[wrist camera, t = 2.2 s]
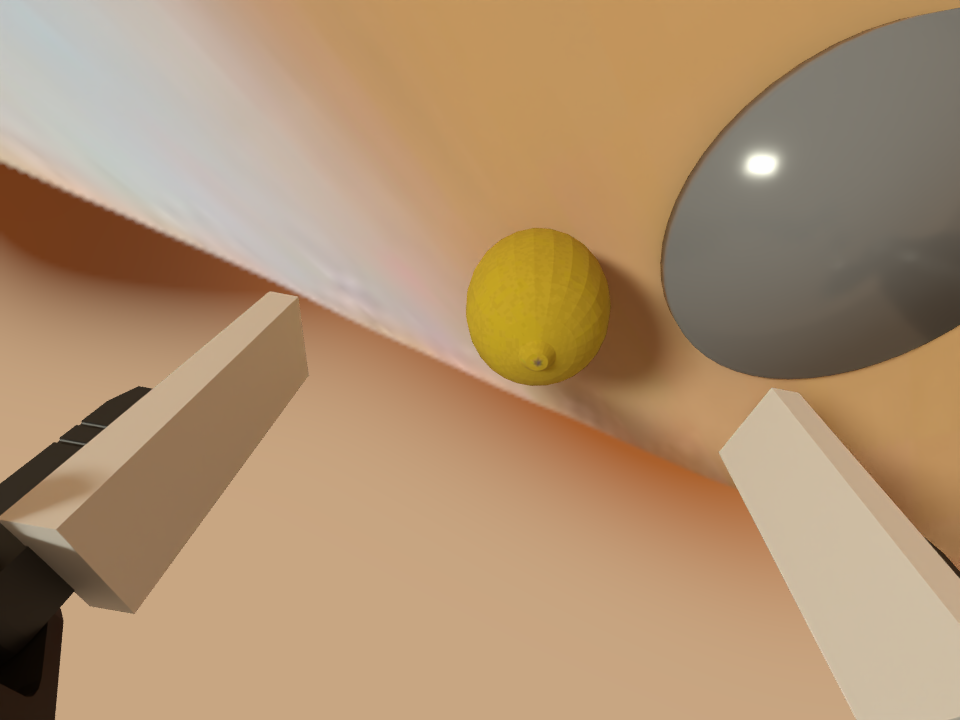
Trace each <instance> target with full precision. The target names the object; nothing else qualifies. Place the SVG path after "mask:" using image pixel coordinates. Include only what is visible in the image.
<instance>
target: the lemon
mask: <svg viewBox="0 0 960 720" xmlns="http://www.w3.org/2000/svg"><path fill="white" fill-rule="evenodd" d="M610 307H611V305H610V296H609V289H608V283H607V280H606V277H605V275H604V273H603V271H602V269H601V266H600V264H599V262H598V260H597V259H596V258H595V257H594V255H593V254H592V253H591V252H590V251H589V250H588V249H587V247H586V246H585V245H584V244H583V243H581V242H579V241H578V240H576V239H575V238H573V237H571V236H570V235H568V234H566V233H562V232H559V231H556V230H553V229H543V228H532V229H527V230H523V231H518V232H516V233H514V234H512V235H510V236H507V237H505V238H503V239H501V240H500V241H499V242H498V243H497V244H495V245H494V246H493V247H492V248H491V249H489V250H488V251H487V252H486V254H485V255H484V257H483V258H482V259H481V261H480V262H479V264H478V265H477V267H476V268H475V270H474V273H473V276H472V279H471V282H470V285H469V288H468V292H467V305H466V318H467V323H468V327H469V332H470V336H471V339H472V342H473V344H474V346H475V348H476V349H477V351H478V353H479V355H480V357H481V358H482V359H483V360H484V361H485V363H486V364H487V365H488V366H489V367H490V368H491V369H492V370H493V371H495V372H496V373H498V374H499V375H501V376H502V377H504V378H506V379H508V380H511V381H513V382H516V383H520V384H525V385H531V386H538V385H549V384H554V383H559V382H561V381H564V380H566V379H568V378H570V377H573V376H574V375H575V374H577V373H578V372H579V371H581V370H582V369H584V368H585V367H586V366H587V365H588V364H589V363H590V361H591V360H592V359H593V358H594V357H595V355H596V354H597V352H598V351H599V349H600V347H601V345H602V342H603V340H604V338H605V336H606V333H607V328H608V322H609V316H610Z"/></svg>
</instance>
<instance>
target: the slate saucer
mask: <svg viewBox="0 0 960 720" xmlns="http://www.w3.org/2000/svg"><path fill="white" fill-rule="evenodd" d="M660 265H661V282H662V287H663V292H664V297H665V300H666V302H667V305H668V307H669V310H670V312H671V314H672V316H673V317H674V319H675V321H676V322H677V324H678V326H679V327H680V329H681V331H682V332H683V334H684V335H685V337H686V338H687V339H688V340H689V341H690V342H691V343H692V345H693V346H694V347H695V348H696V349H698V350H699V351H700V352H701V353H703V354H704V355H705V356H706V357H708V358H710V359H711V360H713V361H715V362H716V363H718V364H720V365H722V366H725V367H727V368H730V369H732V370H734V371H737V372H741V373H745V374H749V375H753V376H759V377H766V378H778V379H801V378H815V377H822V376H829V375H835V374H840V373H844V372H849V371H854V370H858V369H861V368H864V367H868V366H871V365H874V364H878V363H881V362H883V361H886V360H889V359H891V358H894V357H897V356H899V355H902V354H904V353H906V352H909V351H911V350H913V349H915V348H917V347H920V346H922V345H924V344H926V343H928V342H930V341H932V340H934V339H936V338H937V337H939V336H941V335H943V334H945V333H947V332H948V331H950V330H952V329H954V328H955V327H957V326H958V325H960V8H956V9H951V10H945V11H939V12H934V13H929V14H923V15H918V16H913V17H908V18H903V19H899V20H896V21H893V22H889V23H886V24H883V25H880V26H877V27H874V28H871V29H868V30H865V31H863V32H861V33H858V34H856V35H854V36H852V37H849V38H847V39H845V40H843V41H841V42H838V43H836V44H834V45H832V46H830V47H828V48H827V49H825V50H823V51H821V52H820V53H818V54H816V55H814V56H813V57H811V58H809V59H807V60H806V61H804V62H802V63H800V64H799V65H798V66H796V67H795V68H793V69H792V70H791V71H789V72H788V73H786V74H785V75H784V76H782V77H781V78H779V79H778V80H776V81H775V82H774V83H772V84H771V85H770V86H769V87H767V88H766V89H765V90H764V91H763V92H762V93H760V94H759V95H758V96H757V97H756V98H755V99H753V100H752V101H751V102H750V103H749V104H748V105H746V106H745V107H744V108H743V109H742V110H741V111H740V112H739V113H738V114H737V115H736V116H735V118H734V119H733V120H732V121H731V122H730V123H729V124H728V125H727V126H726V127H725V128H724V129H723V130H722V131H721V132H720V134H719V135H718V136H717V137H716V139H715V140H714V141H713V142H712V144H711V145H710V146H709V147H708V148H707V150H706V151H705V152H704V153H703V155H702V156H701V158H700V159H699V161H698V163H697V164H696V166H695V167H694V169H693V170H692V172H691V173H690V175H689V176H688V178H687V180H686V182H685V184H684V186H683V188H682V190H681V192H680V194H679V195H678V197H677V199H676V202H675V204H674V207H673V210H672V212H671V215H670V217H669V220H668V223H667V227H666V231H665V235H664V239H663V243H662V253H661V262H660Z"/></svg>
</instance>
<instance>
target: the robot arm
mask: <svg viewBox="0 0 960 720" xmlns="http://www.w3.org/2000/svg"><path fill="white" fill-rule="evenodd" d="M307 377H308V367H307V360H306V353H305V345H304V337H303V330H302V322H301V315H300V307H299V300H298V297H297V296H292V295H286V294H281V293H276V292H269V293H267V294H266V295H265V296H264V297H262V298H261V299H260V300H259V301H258V302H256V303H255V304H254V305H253V306H252V307H250V308H249V309H248V310H247V311H246V312H244V313H243V314H242V315H241V316H240V317H238V318H237V319H236V320H235V321H234V322H232V323H231V324H230V325H229V326H228V327H226V328H225V329H224V330H223V331H222V332H220V333H219V334H218V335H217V336H216V337H214V338H213V339H212V340H211V341H210V342H208V343H207V344H206V345H205V346H204V347H202V348H201V349H200V350H199V351H198V352H196V353H195V354H194V355H193V356H192V357H190V358H189V359H188V360H187V361H186V362H184V363H183V364H182V365H181V366H179V367H178V368H177V369H176V370H175V371H174V372H172V373H171V374H170V375H169V376H167V377H166V378H165V379H164V380H163V381H162V382H160V383H159V384H158V385H157V386H155V387H154V388H153V389H151V388H146V387H140V386H138V387H136V388H134V389H132V390H130V391H128V392H126V393H123V394H122V395H119V396H117V397H115V398H113V399H111V400H109V401H107V402H106V403H104V404H103V405H102V406H100V407H99V408H98V409H97V410H95V411H94V412H93V413H91V414H90V415H89V416H87V417H86V418H85V419H84V420H82V423H81V425H76V426H74V427H73V428H72V429H71V430H69V431H68V432H67V433H65V434H64V435H63V436H61V437H60V440H59V442H58V443H55V442H54V443H52V444H51V445H50V446H49V447H47V448H46V449H45V450H43V451H42V452H41V453H39V454H38V455H37V456H36V457H34V458H33V459H32V460H31V461H29V462H28V463H26V464H25V465H24V466H23V467H21V468H20V469H19V470H17V471H16V472H15V473H14V474H12V475H11V476H10V477H8V478H7V479H6V480H5V481H3V482H2V483H1V484H0V720H55V711H56V699H57V687H58V677H59V666H60V654H61V643H62V632H63V617H62V612H61V609H60V607H61V606H62V605H63V604H64V602H65V601H66V600H67V599H68V598H69V597H70V596H71V594H72V593H73V592H75V593H76V594H77V595H79V596H80V597H81V598H82V599H83V600H84V601H85V602H86V603H87V604H88V605H89V606H93V607H98V608H104V609H110V610H115V611H121V612H127V613H133V614H135V612H136V611H137V610H138V608H139V607H140V605H141V604H142V603H143V601H144V600H145V599H146V597H147V596H148V595H149V593H150V592H151V590H152V589H153V588H154V586H155V585H156V584H157V582H158V581H159V579H160V578H161V577H162V575H163V574H164V573H165V571H166V570H167V569H168V567H169V566H170V564H171V563H172V561H173V560H174V559H175V557H176V556H177V555H178V553H179V552H180V551H181V549H182V548H183V546H184V545H185V544H186V543H187V541H188V540H189V538H190V537H191V536H192V534H193V533H194V532H195V530H196V529H197V527H198V526H199V525H200V523H201V522H202V521H203V519H204V518H205V516H206V515H207V514H208V512H209V511H210V509H211V508H212V507H213V506H214V504H215V503H216V501H217V500H218V499H219V497H220V496H221V495H222V493H223V492H224V490H225V489H226V488H227V486H228V485H229V484H230V482H231V481H232V480H233V478H234V477H235V475H236V474H237V473H238V471H239V470H240V468H241V467H242V466H243V464H244V463H245V462H246V460H247V459H248V458H249V456H250V455H251V454H252V452H253V451H254V449H255V448H256V447H257V445H258V444H259V443H260V441H261V440H262V438H263V437H264V436H265V434H266V433H267V432H268V430H269V429H270V427H271V426H272V425H273V423H274V422H275V421H276V419H277V418H278V416H279V415H280V414H281V412H282V411H283V410H284V408H285V407H286V406H287V404H288V403H289V401H290V400H291V399H292V397H293V396H294V395H295V393H296V392H297V391H298V389H299V388H300V386H301V385H302V384H303V382H304V381H305V380H306V378H307ZM719 454H720V456H721V458H722V460H723V462H724V464H725V466H726V468H727V470H728V472H729V474H730V475H731V477H732V479H733V481H734V483H735V485H736V487H737V489H738V491H739V493H740V495H741V497H742V499H743V501H744V503H745V505H746V507H747V508H748V510H749V512H750V514H751V516H752V518H753V520H754V522H755V524H756V526H757V528H758V530H759V532H760V534H761V536H762V538H763V540H764V542H765V543H766V545H767V547H768V549H769V551H770V553H771V555H772V557H773V559H774V561H775V563H776V565H777V567H778V568H779V571H780V573H781V575H782V576H783V578H784V580H785V582H786V584H787V586H788V588H789V590H790V592H791V594H792V596H793V598H794V600H795V602H796V604H797V606H798V608H799V609H800V611H801V613H802V615H803V617H804V619H805V621H806V623H807V625H808V627H809V629H810V631H811V633H812V635H813V636H814V639H815V641H816V642H817V644H818V646H819V648H820V650H821V652H822V654H823V656H824V658H825V660H826V662H827V664H828V666H829V668H830V669H831V672H832V673H833V675H834V677H835V679H836V681H837V683H838V685H839V687H840V689H841V691H842V693H843V695H844V697H845V699H846V701H847V703H848V705H849V706H850V708H851V710H852V712H853V714H854V716H855V718H856V720H960V571H959V570H958V569H957V568H956V567H955V566H954V564H953V563H952V562H951V561H950V560H949V559H948V558H947V557H946V555H945V554H944V553H942V552H941V551H940V550H939V549H938V548H937V547H935V546H934V545H933V544H932V543H931V542H929V541H928V540H927V539H926V538H925V537H924V536H922V535H921V533H920V532H919V531H918V530H917V529H916V528H915V526H914V525H913V524H912V523H911V522H910V521H909V520H908V518H907V517H906V516H905V515H904V514H903V513H902V511H901V510H900V509H899V508H898V507H897V506H896V505H895V503H894V502H893V501H892V500H891V499H890V498H889V496H888V495H887V494H886V493H885V492H884V491H883V490H882V488H881V487H880V486H879V485H878V484H877V483H876V481H875V480H874V479H873V478H872V477H871V476H870V475H869V473H868V472H867V471H866V470H865V469H864V468H863V466H862V465H861V464H860V463H859V462H858V461H857V460H856V458H855V457H854V456H853V455H852V454H851V453H850V451H849V450H848V449H847V448H846V447H845V446H844V445H843V443H842V442H841V441H840V440H839V439H838V438H837V436H836V435H835V434H834V433H833V432H832V431H831V430H830V428H829V427H828V426H827V425H826V424H825V423H824V421H823V420H822V419H821V418H820V417H819V416H818V415H817V413H816V412H815V411H814V410H813V409H812V408H811V406H810V405H809V404H808V403H807V402H806V401H805V400H804V398H803V397H802V396H801V395H800V394H799V393H797V392H792V391H787V390H782V389H777V388H771V389H770V390H769V391H768V393H767V394H766V395H765V396H764V398H763V399H762V400H761V401H760V402H759V404H758V405H757V406H756V407H755V408H754V410H753V411H752V412H751V413H750V415H749V416H748V417H747V418H746V419H745V421H744V422H743V423H742V424H741V426H740V427H739V428H738V429H737V430H736V432H735V433H734V434H733V435H732V437H731V438H730V439H729V440H728V441H727V443H726V444H725V445H724V446H723V448H722V449H721V450H720V451H719Z"/></svg>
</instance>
